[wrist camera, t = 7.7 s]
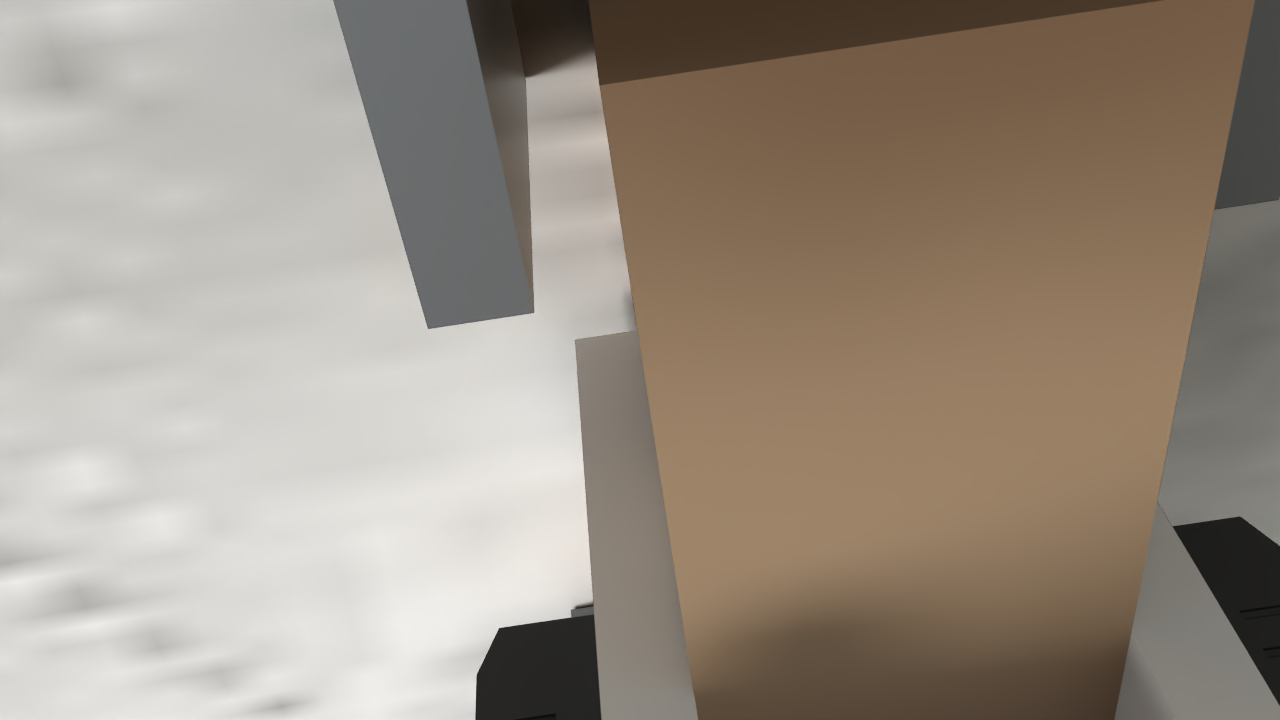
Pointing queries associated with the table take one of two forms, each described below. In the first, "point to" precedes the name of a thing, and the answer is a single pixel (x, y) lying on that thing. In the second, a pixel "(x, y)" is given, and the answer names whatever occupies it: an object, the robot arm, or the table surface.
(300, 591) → the table surface
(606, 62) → the wooden block
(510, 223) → the end caps
